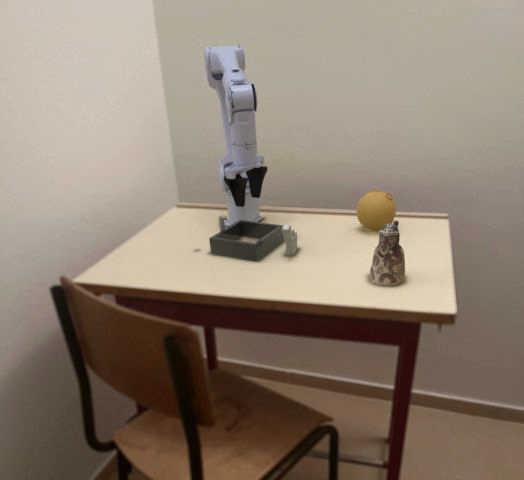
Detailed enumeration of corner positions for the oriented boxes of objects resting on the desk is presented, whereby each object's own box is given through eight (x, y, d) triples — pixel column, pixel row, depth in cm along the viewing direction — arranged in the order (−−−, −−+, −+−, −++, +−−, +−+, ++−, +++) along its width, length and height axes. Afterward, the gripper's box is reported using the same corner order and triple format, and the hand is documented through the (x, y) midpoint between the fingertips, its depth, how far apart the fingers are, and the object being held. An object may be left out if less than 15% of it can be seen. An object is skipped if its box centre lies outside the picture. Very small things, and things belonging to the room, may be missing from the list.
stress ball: (395, 236, 130) (398, 196, 125) (355, 235, 131) (357, 196, 126) (393, 222, 138) (396, 185, 133) (355, 222, 140) (357, 185, 134)
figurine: (362, 279, 110) (366, 224, 103) (382, 268, 114) (386, 215, 107) (391, 288, 105) (396, 232, 99) (410, 277, 109) (416, 222, 103)
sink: (235, 233, 138) (233, 207, 134) (284, 240, 131) (283, 213, 128) (205, 252, 127) (202, 224, 124) (256, 261, 121) (255, 232, 117)
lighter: (290, 248, 127) (289, 216, 122) (297, 249, 126) (296, 217, 122) (282, 259, 121) (281, 226, 117) (289, 260, 120) (288, 227, 116)
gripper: (243, 150, 112) (247, 212, 119) (274, 137, 122) (276, 195, 130) (215, 148, 115) (221, 209, 122) (248, 136, 125) (252, 192, 133)
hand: (248, 201), depth 126 cm, fingers open, 7 cm apart
